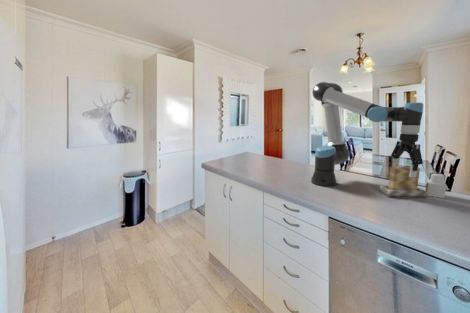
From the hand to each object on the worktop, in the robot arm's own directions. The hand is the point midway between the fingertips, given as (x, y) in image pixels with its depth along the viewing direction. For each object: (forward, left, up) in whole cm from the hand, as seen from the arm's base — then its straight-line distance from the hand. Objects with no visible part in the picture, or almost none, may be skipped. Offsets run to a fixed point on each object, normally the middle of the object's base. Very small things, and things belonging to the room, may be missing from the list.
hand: (403, 173), depth 114 cm
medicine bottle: (+7, +15, -12) cm, 21 cm away
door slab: (0, 0, -11) cm, 11 cm away
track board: (0, 0, -12) cm, 12 cm away
